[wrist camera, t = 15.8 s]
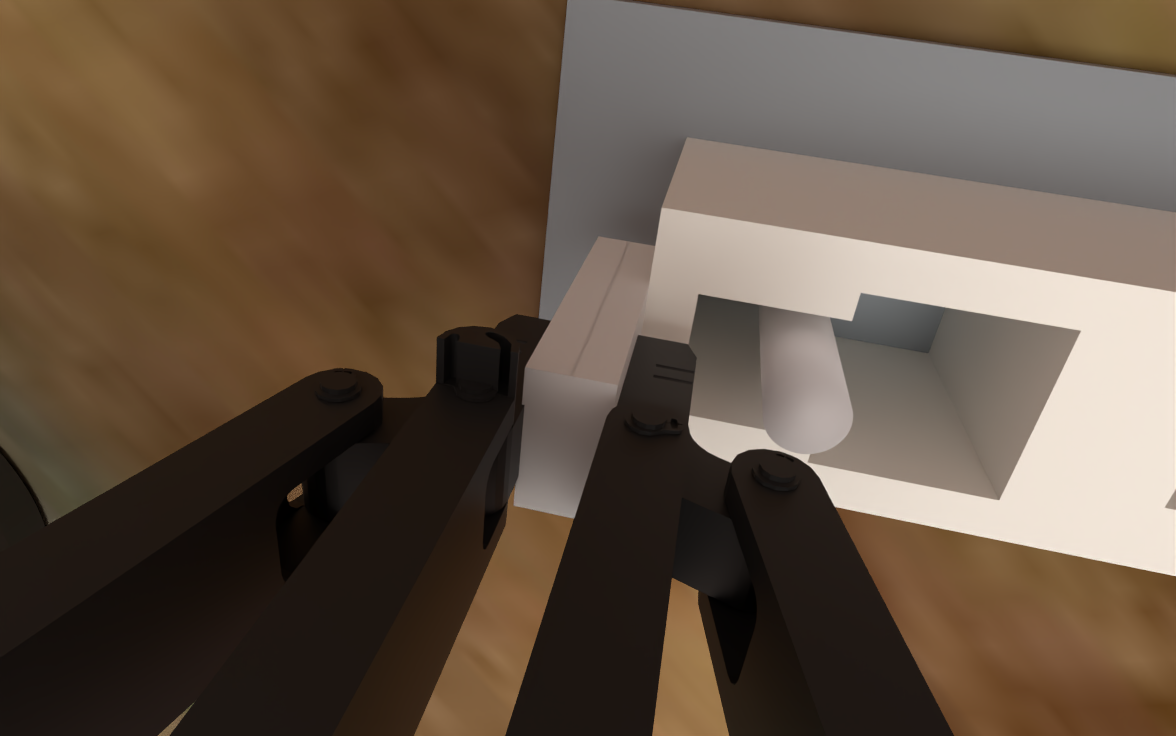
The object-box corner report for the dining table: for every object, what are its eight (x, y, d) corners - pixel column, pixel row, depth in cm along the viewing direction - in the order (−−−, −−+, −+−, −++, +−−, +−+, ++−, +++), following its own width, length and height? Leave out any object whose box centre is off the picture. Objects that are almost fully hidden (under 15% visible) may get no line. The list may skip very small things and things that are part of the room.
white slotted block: (653, 334, 23) (617, 473, 17) (686, 137, 20) (659, 213, 14) (1433, 477, 21) (1741, 703, 14) (1598, 277, 18) (2079, 448, 11)
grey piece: (540, 375, 26) (438, 574, 17) (577, -8, 20) (451, 6, 12) (1282, 520, 23) (1593, 837, 15) (1568, 128, 18) (2354, 275, 9)
